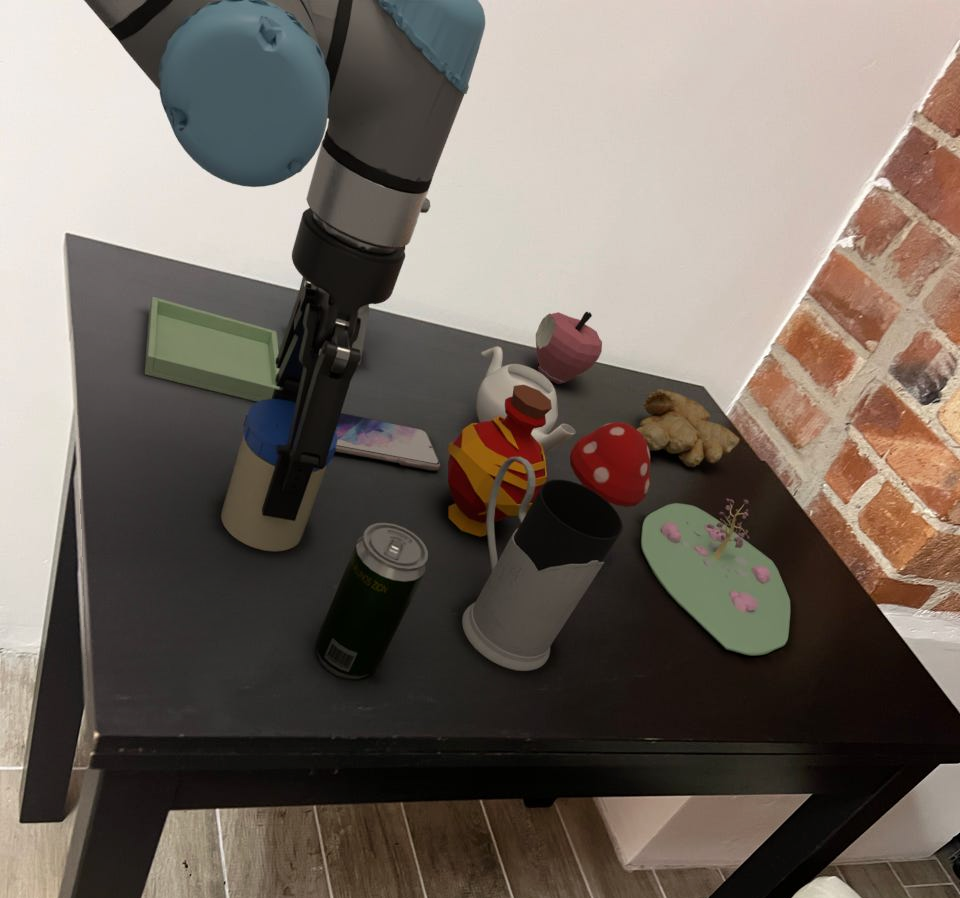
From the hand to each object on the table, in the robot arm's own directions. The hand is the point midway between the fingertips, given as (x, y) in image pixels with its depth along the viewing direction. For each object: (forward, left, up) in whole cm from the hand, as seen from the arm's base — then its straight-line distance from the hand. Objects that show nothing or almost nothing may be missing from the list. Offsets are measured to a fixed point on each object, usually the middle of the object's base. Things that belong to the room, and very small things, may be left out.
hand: (274, 485), depth 77 cm
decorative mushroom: (+33, +6, -5) cm, 34 cm away
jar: (0, 0, -4) cm, 4 cm away
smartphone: (+12, +17, -4) cm, 21 cm away
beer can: (+6, -15, -5) cm, 17 cm away
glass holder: (+21, -7, -5) cm, 23 cm away
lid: (0, 0, +6) cm, 6 cm away
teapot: (+29, +23, -5) cm, 37 cm away
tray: (-4, +26, -4) cm, 27 cm away
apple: (+43, +45, -5) cm, 62 cm away
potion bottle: (+22, +7, -5) cm, 24 cm away
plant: (+54, +5, -5) cm, 54 cm away
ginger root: (+59, +35, -5) cm, 69 cm away
